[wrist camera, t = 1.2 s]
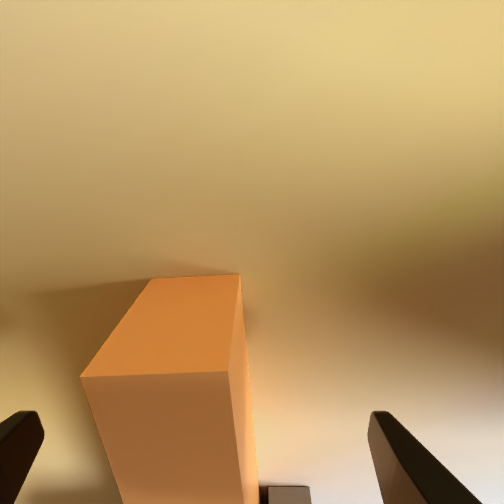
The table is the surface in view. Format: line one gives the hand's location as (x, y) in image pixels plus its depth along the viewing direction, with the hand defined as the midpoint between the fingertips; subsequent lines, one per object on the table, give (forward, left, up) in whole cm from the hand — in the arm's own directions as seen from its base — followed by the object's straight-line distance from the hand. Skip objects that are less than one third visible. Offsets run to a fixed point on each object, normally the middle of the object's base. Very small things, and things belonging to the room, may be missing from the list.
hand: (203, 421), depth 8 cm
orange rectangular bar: (0, +7, -4) cm, 9 cm away
